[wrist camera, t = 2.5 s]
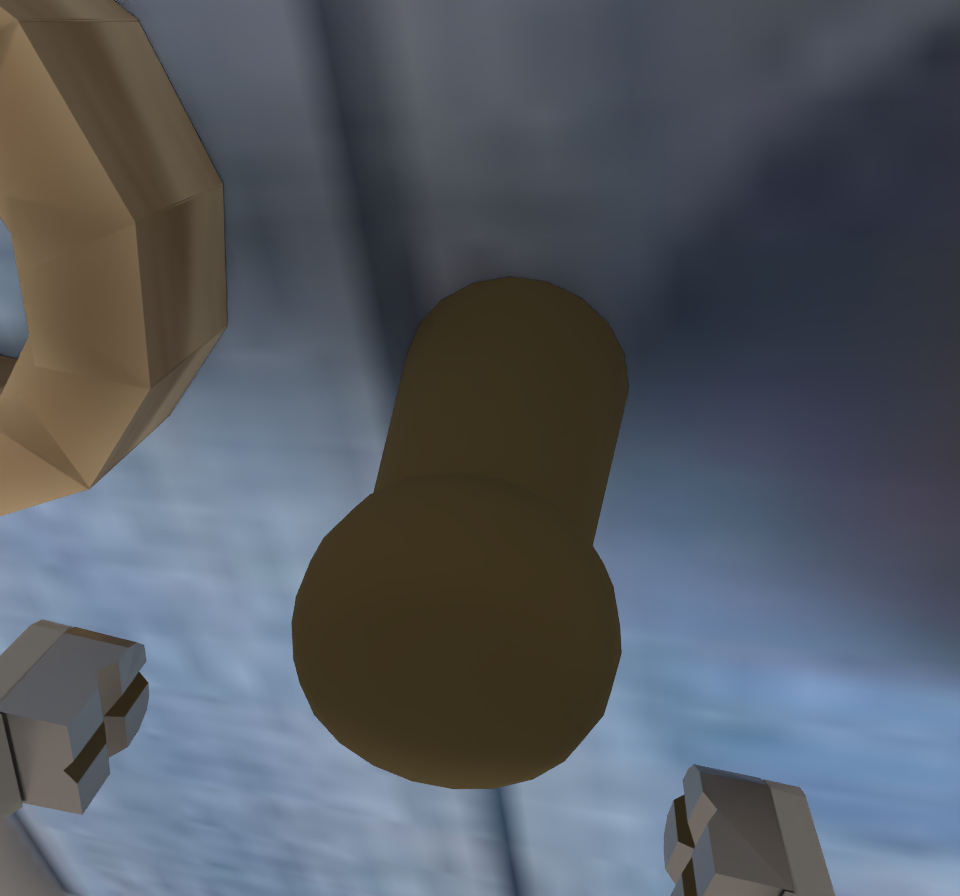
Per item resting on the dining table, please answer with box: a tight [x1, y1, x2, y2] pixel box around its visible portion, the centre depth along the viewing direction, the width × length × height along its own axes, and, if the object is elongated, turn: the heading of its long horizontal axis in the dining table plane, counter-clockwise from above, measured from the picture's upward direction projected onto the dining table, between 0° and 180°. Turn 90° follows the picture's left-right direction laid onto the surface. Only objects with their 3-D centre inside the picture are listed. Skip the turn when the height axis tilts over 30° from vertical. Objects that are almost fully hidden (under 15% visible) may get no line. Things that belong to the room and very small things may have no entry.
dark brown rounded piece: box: [292, 277, 629, 789], centre depth 15 cm, size 6×6×11 cm
